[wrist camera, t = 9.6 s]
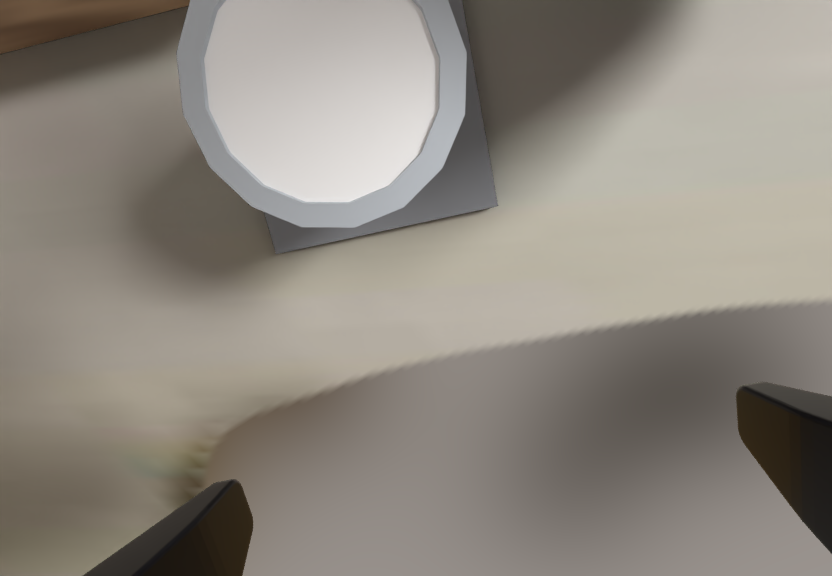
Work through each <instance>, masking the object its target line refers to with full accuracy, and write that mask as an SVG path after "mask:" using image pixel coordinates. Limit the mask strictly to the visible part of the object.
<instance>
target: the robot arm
mask: <svg viewBox="0 0 832 576" xmlns="http://www.w3.org/2000/svg"><path fill="white" fill-rule="evenodd" d="M736 403H737V420H738V431H739V435H740V437H741V439H742V441H743V443H744V444H745V446H746V447H747V448H748V450H749V451H750V452H751V454H752V455H753V456H754V458H755V459H756V460H757V462H758V463H759V464H760V466H761V467H762V468H763V470H764V471H765V472H766V474H767V475H768V476H769V478H770V479H771V480H772V482H773V483H774V484H775V486H776V487H777V488H778V490H779V491H780V493H781V494H782V495H783V497H784V498H785V499H786V500H787V502H788V503H789V505H790V506H791V507H792V508H793V510H794V511H795V512H796V513H797V514H798V516H799V517H800V518H801V520H802V521H803V522H804V523H805V524H806V526H807V527H808V528H809V529H810V530H811V531H812V532H813V534H814V535H815V536H816V537H817V538H818V539H819V540H820V541H821V543H823V545H824V546H825V547H826V548H827V549H828V550H829V551H830V552H831V553H832V396H827V395H823V394H818V393H813V392H809V391H804V390H800V389H795V388H791V387H786V386H782V385H777V384H773V383H768V382H758V383H753V384H747V385H742V386H740V387H739V388H738V389H737V392H736ZM252 531H253V517H252V514H251V511H250V508H249V505H248V502H247V500H246V497H245V494H244V491H243V488H242V486H241V484H240V483H239V481H237V480H235V479H231V480H226V481H221V482H216V483H214V484H212V485H211V486H209V487H208V488H206V489H205V490H204V491H202V492H201V493H199V494H198V495H196V496H195V497H194V498H192V499H191V500H189V501H188V502H187V503H185V504H184V505H182V506H181V507H179V508H178V509H177V510H175V511H174V512H172V513H171V514H169V515H168V516H167V517H165V518H164V519H162V520H161V521H160V522H158V523H157V524H155V525H154V526H152V527H151V528H150V529H148V530H147V531H145V532H144V533H143V534H141V535H140V536H138V537H137V538H135V539H134V540H133V541H131V542H130V543H128V544H127V545H126V546H124V547H123V548H121V549H120V550H118V551H117V552H116V553H114V554H113V555H111V556H110V557H109V558H107V559H106V560H104V561H103V562H101V563H100V564H99V565H97V566H96V567H94V568H93V569H92V570H90V571H89V572H87V573H86V574H84V575H83V576H242V575H243V570H244V566H245V562H246V557H247V552H248V548H249V544H250V540H251V535H252Z"/></svg>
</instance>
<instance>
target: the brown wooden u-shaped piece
mask: <svg viewBox="0 0 832 576" xmlns="http://www.w3.org/2000/svg"><path fill="white" fill-rule="evenodd" d="M189 3H190V0H0V54H2V53H6V52H10V51H14V50H18V49H22V48H26V47H30V46H33V45H37V44H41V43H45V42H49V41H53V40H57V39H61V38H65V37H68V36H72V35H76V34H80V33H84V32H88V31H92V30H96V29H100V28H103V27H107V26H111V25H115V24H119V23H123V22H127V21H131V20H135V19H138V18H142V17H146V16H150V15H154V14H158V13H162V12H166V11H170V10H173V9H177V8H181V7H185V6H189Z"/></svg>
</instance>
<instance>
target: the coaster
mask: <svg viewBox="0 0 832 576" xmlns="http://www.w3.org/2000/svg"><path fill="white" fill-rule="evenodd" d="M448 1H449V4H450V7H451V10H452V13H453V15H454V18H455V21H456V24H457V27H458V30H459V32H460V35H461V38H462V41H463V44H464V47H465V49H466V52H467V61H466V99H465V116H464V118H463V121H462V123H461V125H460V128H459V130H458V133H457V135H456V137H455V140H454V142H453V144H452V147H451V149H450V152H449V154H448V156H447V159H446V161H445V164H444V166H443V168H442V169H441V170H440V171H439V172H438V173H437V174H436V175H435V176H434V177H433V178H432V179H431V180H430V181H429V182H428V183H427V184H426V185H425V186H424V187H423V188H422V189H421V190H420V191H419V192H418V193H417V194H416V195H415V197H414V198H413V199H412V200H411V201H410V202H409V203H408V204H407V205H406V206H405V207H403V208H401V209H398V210H396V211H394V212H391V213H389V214H386V215H384V216H382V217H379V218H377V219H374V220H372V221H370V222H367V223H365V224H362V225H360V226H357V227H355V228H334V227H300V226H297V225H295V224H292V223H290V222H288V221H285V220H283V219H280V218H278V217H275V216H273V215H271V214H268V213H266V212H264V214H265V218H266V221H267V225H268V228H269V231H270V235H271V238H272V242H273V245H274V248H275V252H276V254H279V253H284V252H288V251H293V250H297V249H302V248H307V247H311V246H316V245H321V244H325V243H330V242H334V241H339V240H344V239H348V238H353V237H357V236H362V235H367V234H371V233H376V232H381V231H385V230H390V229H394V228H399V227H404V226H408V225H413V224H418V223H422V222H427V221H431V220H436V219H441V218H445V217H450V216H454V215H459V214H464V213H468V212H473V211H478V210H482V209H487V208H491V207H496V206H498V203H497V197H496V192H495V186H494V180H493V175H492V169H491V163H490V157H489V152H488V146H487V140H486V134H485V129H484V123H483V117H482V111H481V106H480V100H479V94H478V88H477V83H476V77H475V71H474V66H473V60H472V54H471V48H470V43H469V37H468V31H467V25H466V20H465V14H464V8H463V2H462V0H448Z"/></svg>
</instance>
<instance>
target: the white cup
mask: <svg viewBox="0 0 832 576" xmlns="http://www.w3.org/2000/svg"><path fill="white" fill-rule="evenodd" d="M176 55H177V63H178V72H179V81H180V90H181V99H182V108H183V115H184V117H185V119H186V121H187V123H188V125H189V127H190V129H191V131H192V133H193V135H194V137H195V139H196V141H197V143H198V145H199V147H200V149H201V151H202V153H203V155H204V157H205V159H206V161H207V163H208V165H209V167H210V168H211V169H212V170H213V171H214V172H215V173H216V174H217V175H218V176H219V177H220V178H222V179H223V180H224V181H225V182H226V183H227V184H228V185H229V186H230V187H231V188H232V189H233V190H234V191H235V192H236V193H237V194H239V195H240V196H241V197H242V198H243V199H244V200H245V201H246V202H247V203H248V204H249V205H250V206H251V207H254V208H256V209H258V210H261V211H263V212H266V213H268V214H271V215H273V216H275V217H278V218H280V219H283V220H285V221H288V222H290V223H292V224H295V225H297V226H300V227H334V228H355V227H357V226H360V225H362V224H365V223H367V222H370V221H372V220H374V219H377V218H379V217H382V216H384V215H386V214H389V213H391V212H394V211H396V210H398V209H401V208H403V207H405V206H406V205H407V204H408V203H409V202H410V201H411V200H412V199H413V198H414V197H415V195H416V194H417V193H418V192H419V191H420V190H421V189H422V188H423V187H424V186H425V185H426V184H427V183H428V182H429V181H430V180H431V179H432V178H433V177H434V176H435V175H436V174H437V173H438V172H439V171H440V170H441V169H442V168H443V166H444V164H445V161H446V159H447V156H448V154H449V152H450V149H451V147H452V144H453V142H454V140H455V137H456V135H457V133H458V130H459V128H460V125H461V123H462V121H463V118H464V116H465V99H466V61H467V52H466V49H465V47H464V44H463V41H462V38H461V35H460V32H459V30H458V27H457V24H456V21H455V18H454V15H453V13H452V10H451V7H450V4H449V1H448V0H190V3H189V7H188V11H187V15H186V18H185V22H184V26H183V30H182V34H181V37H180V41H179V45H178V49H177V52H176Z"/></svg>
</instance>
